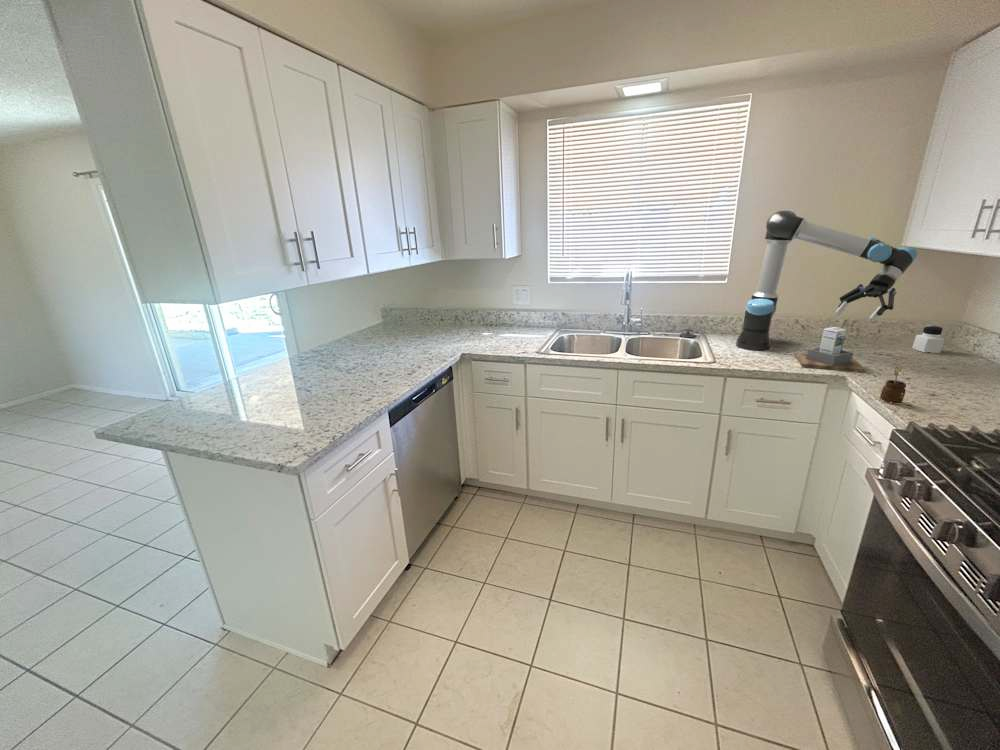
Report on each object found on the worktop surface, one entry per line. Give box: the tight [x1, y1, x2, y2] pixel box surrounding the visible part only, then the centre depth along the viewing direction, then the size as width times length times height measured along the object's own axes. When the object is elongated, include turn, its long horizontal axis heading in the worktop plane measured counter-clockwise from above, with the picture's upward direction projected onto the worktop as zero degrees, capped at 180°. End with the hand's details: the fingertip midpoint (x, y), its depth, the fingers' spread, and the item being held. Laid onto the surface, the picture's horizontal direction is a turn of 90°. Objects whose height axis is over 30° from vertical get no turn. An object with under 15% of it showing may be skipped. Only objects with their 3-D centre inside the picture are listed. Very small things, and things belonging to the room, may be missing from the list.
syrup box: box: [819, 326, 847, 355], centre depth 182 cm, size 6×6×14 cm
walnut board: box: [793, 352, 866, 373], centre depth 185 cm, size 22×17×2 cm
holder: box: [806, 346, 854, 366], centre depth 184 cm, size 12×12×4 cm
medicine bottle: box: [911, 325, 946, 354], centre depth 195 cm, size 7×7×12 cm
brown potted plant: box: [879, 365, 907, 404], centre depth 145 cm, size 6×6×12 cm
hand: (853, 317), depth 183 cm, fingers open, 13 cm apart
